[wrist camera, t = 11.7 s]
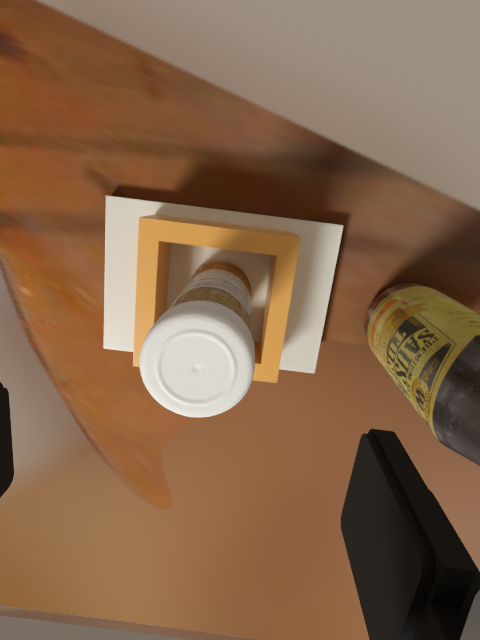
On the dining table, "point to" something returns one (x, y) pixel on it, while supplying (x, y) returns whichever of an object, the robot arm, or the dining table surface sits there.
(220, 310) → the sprinkles bottle
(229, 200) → the dining table surface
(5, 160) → the dining table surface
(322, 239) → the socket base
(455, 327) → the sauce bottle
